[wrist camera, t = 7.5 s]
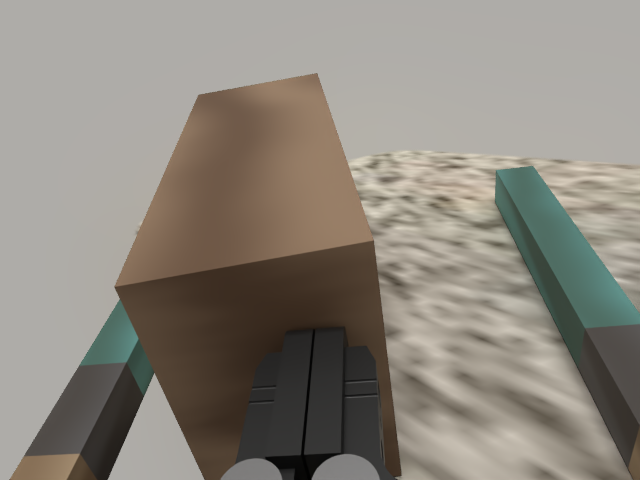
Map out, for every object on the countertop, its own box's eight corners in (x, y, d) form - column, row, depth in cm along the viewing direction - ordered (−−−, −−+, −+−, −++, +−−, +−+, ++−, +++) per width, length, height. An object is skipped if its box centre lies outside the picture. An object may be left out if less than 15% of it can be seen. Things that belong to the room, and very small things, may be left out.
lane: (530, 197, 29) (532, 165, 28) (1145, 1169, 7) (1274, 1193, 6) (185, 234, 32) (176, 207, 31) (-225, 1011, 9) (-314, 1007, 8)
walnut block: (341, 227, 30) (317, 73, 25) (401, 475, 16) (373, 240, 11) (241, 245, 30) (198, 94, 25) (217, 507, 16) (114, 286, 12)
